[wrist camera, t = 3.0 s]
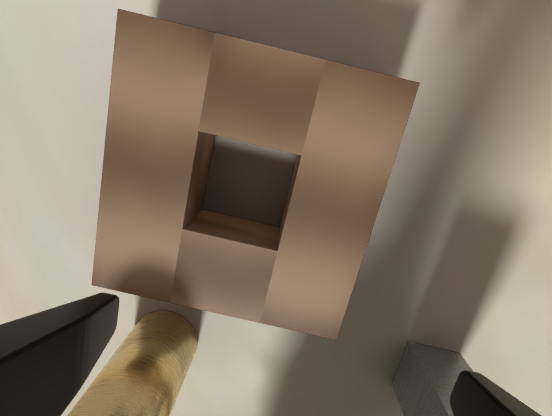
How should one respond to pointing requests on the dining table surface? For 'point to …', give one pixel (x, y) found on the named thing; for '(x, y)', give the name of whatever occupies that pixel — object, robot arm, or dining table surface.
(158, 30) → the socket block
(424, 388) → the square bit
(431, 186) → the dining table surface
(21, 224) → the dining table surface
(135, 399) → the round bit
